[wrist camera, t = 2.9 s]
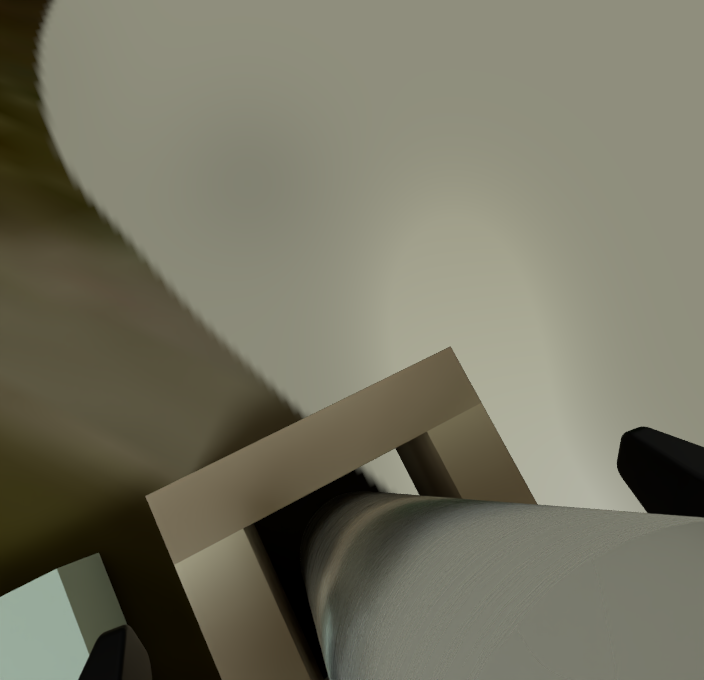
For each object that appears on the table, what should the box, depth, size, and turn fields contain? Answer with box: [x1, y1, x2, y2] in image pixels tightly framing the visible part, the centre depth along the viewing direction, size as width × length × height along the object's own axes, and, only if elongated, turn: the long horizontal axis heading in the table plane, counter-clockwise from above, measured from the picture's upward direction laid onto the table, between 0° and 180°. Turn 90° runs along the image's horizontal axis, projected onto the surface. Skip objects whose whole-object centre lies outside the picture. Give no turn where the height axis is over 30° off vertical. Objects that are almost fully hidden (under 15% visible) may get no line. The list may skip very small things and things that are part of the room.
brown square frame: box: [146, 347, 538, 680], centre depth 14 cm, size 8×8×4 cm
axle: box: [300, 491, 704, 680], centre depth 9 cm, size 4×4×14 cm
